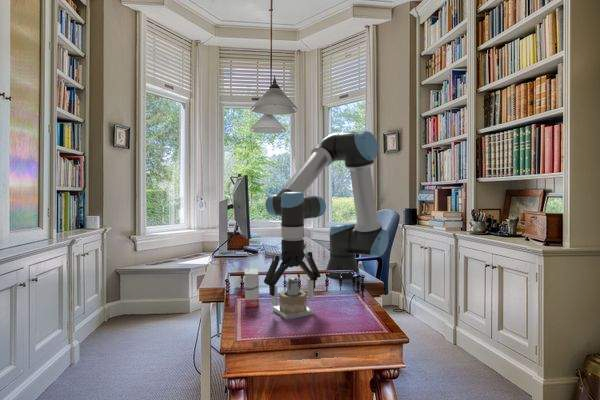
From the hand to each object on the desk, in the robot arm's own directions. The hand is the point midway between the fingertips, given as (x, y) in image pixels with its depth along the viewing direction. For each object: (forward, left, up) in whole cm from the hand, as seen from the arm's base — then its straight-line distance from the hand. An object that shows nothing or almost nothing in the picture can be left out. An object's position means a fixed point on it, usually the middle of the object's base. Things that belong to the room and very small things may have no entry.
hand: (292, 301), depth 143 cm
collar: (0, 0, -2) cm, 2 cm away
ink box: (+8, -16, -4) cm, 18 cm away
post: (0, 0, -4) cm, 4 cm away
